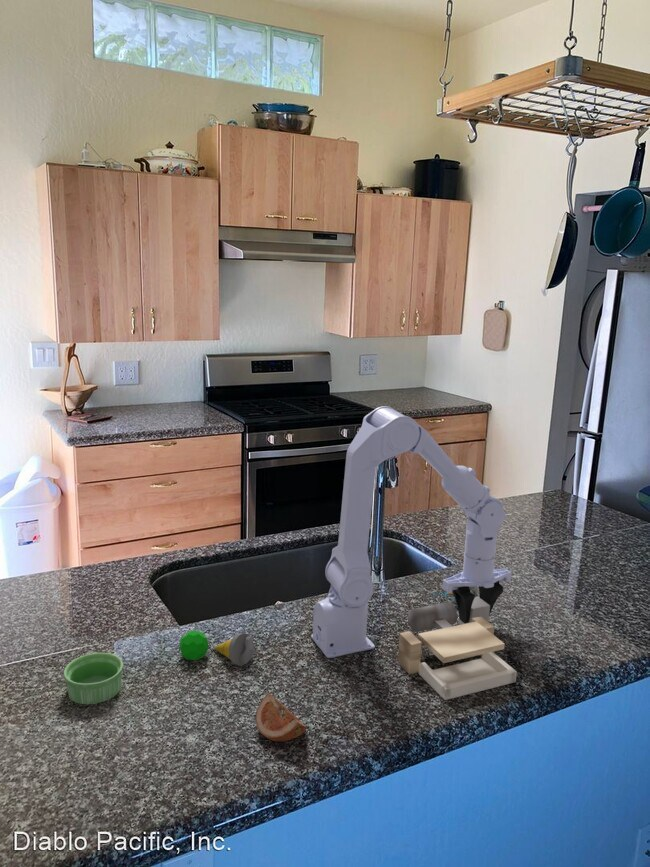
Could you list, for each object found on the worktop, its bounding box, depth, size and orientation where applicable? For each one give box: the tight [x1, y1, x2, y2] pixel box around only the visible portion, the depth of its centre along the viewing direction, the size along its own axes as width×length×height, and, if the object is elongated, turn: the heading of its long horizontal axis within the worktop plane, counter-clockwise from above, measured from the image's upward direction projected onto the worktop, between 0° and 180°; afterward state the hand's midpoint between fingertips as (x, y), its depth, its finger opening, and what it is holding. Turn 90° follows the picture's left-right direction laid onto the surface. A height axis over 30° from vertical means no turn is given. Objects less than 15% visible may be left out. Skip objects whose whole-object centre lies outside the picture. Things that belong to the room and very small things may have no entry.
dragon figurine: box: [430, 586, 479, 601], centre depth 143 cm, size 6×7×8 cm
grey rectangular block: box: [458, 595, 491, 625], centre depth 133 cm, size 4×4×5 cm
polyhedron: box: [178, 630, 209, 661], centre depth 120 cm, size 5×5×5 cm
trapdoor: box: [407, 601, 506, 664], centre depth 120 cm, size 15×12×4 cm
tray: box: [418, 651, 518, 701], centre depth 116 cm, size 14×8×2 cm, turn 113°
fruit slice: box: [255, 692, 308, 742], centre depth 100 cm, size 8×7×5 cm
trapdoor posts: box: [397, 616, 495, 675], centre depth 121 cm, size 4×17×6 cm, turn 113°
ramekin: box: [63, 652, 124, 705], centre depth 109 cm, size 9×9×4 cm
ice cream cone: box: [213, 632, 257, 667], centre depth 120 cm, size 5×5×10 cm
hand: (473, 619), depth 134 cm, fingers closed on grey rectangular block, 4 cm apart
